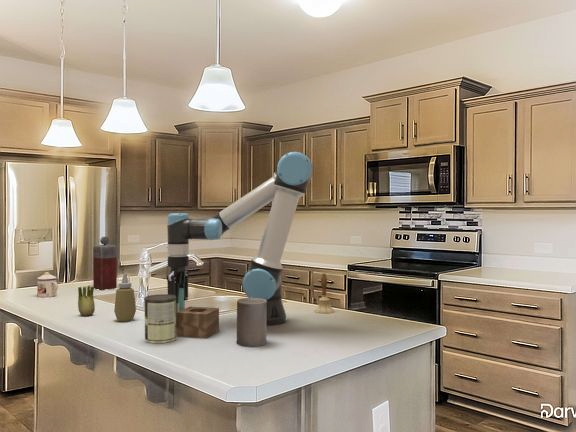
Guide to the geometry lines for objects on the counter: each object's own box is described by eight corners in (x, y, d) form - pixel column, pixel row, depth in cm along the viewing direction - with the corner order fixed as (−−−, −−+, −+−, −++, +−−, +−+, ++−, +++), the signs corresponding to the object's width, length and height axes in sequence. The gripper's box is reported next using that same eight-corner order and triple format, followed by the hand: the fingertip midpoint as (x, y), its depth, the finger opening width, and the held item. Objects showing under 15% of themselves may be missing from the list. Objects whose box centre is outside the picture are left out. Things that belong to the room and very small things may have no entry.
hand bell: (323, 314, 211) (323, 275, 211) (310, 311, 218) (310, 273, 218) (338, 312, 216) (338, 273, 216) (325, 308, 223) (325, 271, 223)
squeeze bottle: (129, 323, 195) (129, 275, 194) (110, 322, 196) (109, 274, 196) (139, 318, 203) (139, 272, 202) (121, 317, 204) (120, 272, 204)
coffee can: (137, 340, 170) (137, 297, 169) (163, 334, 178) (163, 293, 177) (157, 345, 163) (157, 300, 163) (182, 338, 171) (182, 296, 171)
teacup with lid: (32, 296, 253) (32, 272, 253) (49, 293, 261) (48, 270, 261) (49, 298, 248) (48, 274, 247) (65, 295, 256) (65, 272, 255)
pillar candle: (230, 342, 166) (230, 296, 166) (253, 337, 173) (253, 292, 173) (249, 348, 159) (250, 300, 159) (273, 342, 166) (273, 296, 166)
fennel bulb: (76, 316, 207) (76, 286, 207) (84, 313, 212) (84, 284, 212) (88, 317, 205) (88, 287, 205) (96, 314, 210) (96, 285, 210)
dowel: (185, 326, 190) (185, 288, 189) (180, 328, 186) (180, 289, 186) (175, 325, 191) (175, 287, 190) (170, 327, 187) (170, 289, 187)
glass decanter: (106, 286, 287) (106, 235, 286) (116, 288, 279) (116, 236, 279) (91, 288, 280) (90, 236, 280) (101, 290, 272) (101, 237, 272)
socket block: (218, 330, 183) (218, 308, 182) (206, 338, 172) (206, 314, 172) (190, 328, 185) (190, 306, 185) (176, 336, 175) (176, 312, 175)
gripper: (179, 253, 197) (179, 314, 197) (157, 257, 181) (157, 324, 181) (197, 253, 195) (197, 315, 195) (176, 258, 179) (176, 325, 179)
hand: (178, 319), depth 188 cm, fingers closed on dowel, 4 cm apart
